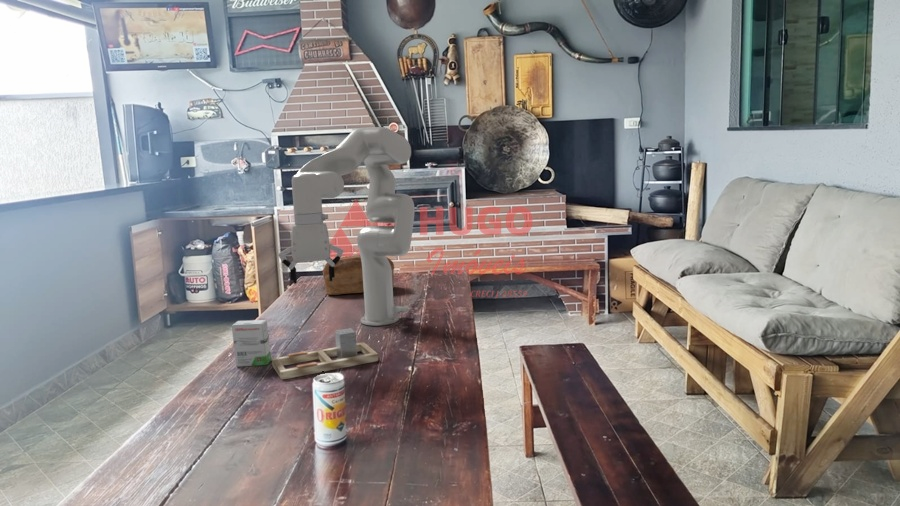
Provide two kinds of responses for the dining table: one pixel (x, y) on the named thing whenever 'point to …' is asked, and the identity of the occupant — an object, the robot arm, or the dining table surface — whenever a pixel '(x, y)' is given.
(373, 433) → the dining table surface
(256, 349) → the ink box
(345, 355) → the grey rectangular block
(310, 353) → the wooden frame
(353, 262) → the bread
